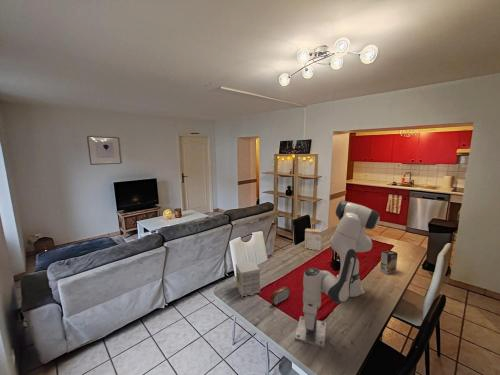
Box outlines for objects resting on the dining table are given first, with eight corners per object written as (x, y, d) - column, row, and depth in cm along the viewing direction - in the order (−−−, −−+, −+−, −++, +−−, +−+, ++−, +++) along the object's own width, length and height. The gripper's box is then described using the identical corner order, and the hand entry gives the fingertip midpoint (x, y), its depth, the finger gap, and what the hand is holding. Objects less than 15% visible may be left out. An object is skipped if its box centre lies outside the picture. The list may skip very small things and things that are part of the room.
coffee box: (387, 275, 167) (388, 254, 165) (379, 270, 173) (381, 251, 171) (396, 272, 170) (397, 253, 167) (388, 268, 176) (390, 249, 173)
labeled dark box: (307, 322, 118) (307, 312, 117) (316, 324, 116) (316, 314, 116) (305, 329, 114) (305, 318, 113) (315, 331, 112) (315, 321, 111)
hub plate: (300, 317, 125) (300, 311, 125) (326, 324, 120) (326, 317, 119) (294, 339, 111) (294, 332, 110) (324, 348, 105) (324, 340, 105)
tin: (287, 295, 145) (287, 283, 144) (290, 298, 143) (290, 285, 142) (270, 305, 137) (269, 292, 135) (273, 308, 134) (273, 295, 133)
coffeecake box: (321, 248, 216) (321, 229, 213) (320, 251, 209) (321, 231, 206) (305, 246, 222) (306, 227, 219) (304, 249, 215) (304, 230, 213)
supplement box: (236, 286, 156) (235, 263, 154) (253, 282, 161) (253, 260, 158) (241, 298, 144) (241, 273, 142) (260, 293, 148) (260, 268, 146)
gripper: (308, 287, 123) (308, 309, 125) (302, 311, 105) (302, 337, 107) (320, 289, 121) (319, 312, 123) (316, 314, 102) (315, 341, 104)
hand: (311, 324), depth 115 cm, fingers closed on labeled dark box, 5 cm apart
